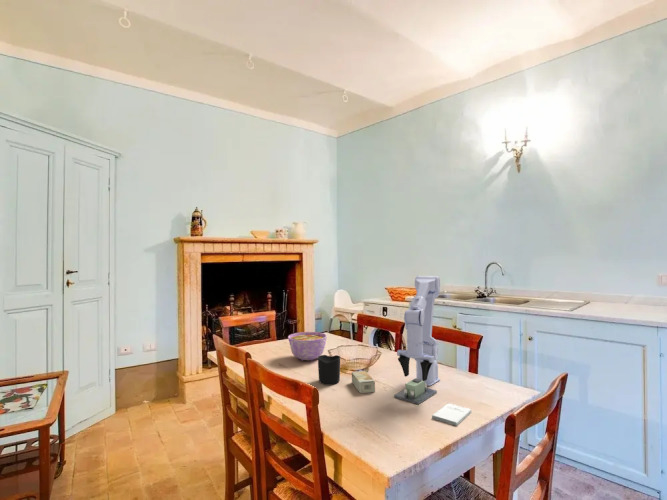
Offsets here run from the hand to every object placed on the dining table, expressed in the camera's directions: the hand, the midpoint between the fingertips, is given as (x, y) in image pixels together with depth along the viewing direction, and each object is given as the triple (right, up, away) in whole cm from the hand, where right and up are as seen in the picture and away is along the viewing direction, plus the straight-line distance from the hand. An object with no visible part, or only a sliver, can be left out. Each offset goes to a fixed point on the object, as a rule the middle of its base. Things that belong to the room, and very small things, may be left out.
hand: (415, 378), depth 135 cm
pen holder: (-33, -7, +16) cm, 37 cm away
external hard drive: (+8, -7, -17) cm, 20 cm away
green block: (0, -6, 0) cm, 6 cm away
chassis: (0, -6, 0) cm, 6 cm away
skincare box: (-18, -5, +3) cm, 18 cm away
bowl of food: (-44, -8, +50) cm, 67 cm away
